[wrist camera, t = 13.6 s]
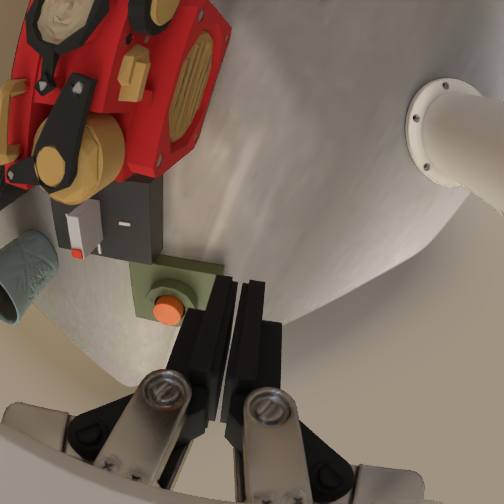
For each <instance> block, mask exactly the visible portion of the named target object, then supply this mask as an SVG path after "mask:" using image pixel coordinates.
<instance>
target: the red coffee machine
mask: <svg viewBox="0 0 504 504" xmlns="http://www.w3.org/2000/svg"><path fill="white" fill-rule="evenodd" d="M230 34H231V26H230V25H229V24H228V23H227V21H226V20H225V19H224V18H223V17H222V15H221V14H220V13H219V12H218V11H217V9H216V8H215V7H214V6H213V5H212V4H211V2H210V1H209V0H30V2H29V5H28V8H27V11H26V14H25V18H24V21H23V25H22V28H21V32H20V36H19V40H18V44H17V49H16V53H15V58H14V63H13V69H12V75H11V80H7V81H6V82H5V83H4V85H3V86H2V87H1V88H0V165H4V171H5V182H6V183H9V184H11V185H14V186H17V187H20V188H23V189H25V190H28V189H30V188H32V187H33V186H35V185H39V186H40V187H41V188H42V189H43V190H44V191H45V192H46V193H47V194H48V195H49V196H50V197H51V198H53V199H54V200H55V201H57V202H60V203H62V204H67V205H75V204H79V203H82V202H84V201H86V200H87V199H89V198H90V197H92V196H93V195H94V194H96V193H97V192H98V191H100V190H101V189H103V188H104V187H106V186H107V185H108V184H110V183H111V182H112V181H117V182H120V183H122V182H124V181H125V180H126V179H128V178H129V177H131V176H132V175H133V174H135V173H138V174H142V175H146V176H149V177H153V178H157V177H160V176H161V175H162V174H163V173H164V172H166V171H167V170H168V169H169V168H170V167H172V166H173V165H174V164H175V163H176V162H178V161H179V160H180V159H181V158H183V157H184V156H185V155H186V154H188V153H189V152H190V151H191V150H193V149H194V147H195V145H196V143H197V140H198V138H199V135H200V132H201V128H202V125H203V121H204V118H205V114H206V111H207V107H208V104H209V101H210V97H211V94H212V91H213V88H214V85H215V81H216V78H217V75H218V72H219V69H220V66H221V63H222V60H223V57H224V54H225V51H226V48H227V46H228V43H229V40H230Z"/></svg>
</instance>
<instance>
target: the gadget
mask: <svg viewBox="0 0 504 504" xmlns="http://www.w3.org/2000/svg"><path fill="white" fill-rule="evenodd" d="M50 198H51V197H50ZM89 199H94V200H99V201H100V212H101V223H102V232H103V240H102V241H101V242H100V243H99V244H98V246H97V247H96V248H95V249H94V250H93V251H92V252H91V253H90V254H95V255H100V256H105V257H110V258H115V259H120V260H125V261H130V262H136V263H141V264H146V265H152V264H153V263H154V261H155V260H156V258H157V257H158V255H159V253H160V252H161V250H162V249H163V231H162V201H163V174H162V175H161V176H160V177H157V178H153V177H149V176H146V175H142V174H138V173H135V174H133V175H132V176H131V177H129V178H128V179H126V180H125V181H124V182H122V183H120V182H117V181H112V182H111V183H110V184H108V185H107V186H106V187H104V188H103V189H101V190H100V191H98V192H97V193H96V194H94V195H93V196H92V197H90V198H89ZM84 202H85V201H84ZM82 203H83V202H82ZM82 203H79V204H75V205H67V204H62V203H60V202H57V201H55V200H54V199H53V198H51V205H52V212H53V218H54V224H55V230H56V235H57V240H58V245H59V247H61V248H65V249H70V250H71V249H72V247H71V241H70V236H69V230H68V223H67V217H66V216H67V215H68V214H69V213H70V212H72V211H73V210H74V209H75V208H77V207H78V206H79V205H81V204H82Z"/></svg>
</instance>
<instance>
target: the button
mask: <svg viewBox="0 0 504 504" xmlns="http://www.w3.org/2000/svg"><path fill="white" fill-rule="evenodd" d="M183 312H184V306H183V304H182V302H181V301H180V300H179V299H177V298H176V297H174V296H171V295H163V296H161V297H159V298H158V300H157V302H156V304H155V306H154V309H153V313H154V316H155V317H156V319H157V320H159V321H160V322H161V323H163V324H166V325H175V324H177V323H179V321H180V319H181V317H182V314H183Z"/></svg>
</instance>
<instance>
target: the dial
mask: <svg viewBox="0 0 504 504" xmlns="http://www.w3.org/2000/svg"><path fill="white" fill-rule="evenodd" d="M66 217H67V223H68V230H69V236H70V241H71V247H72V249H71V250H72V255H73V257H75V258H79V259H85V258H86V257H87V256H88V255H89V254H90V253H91V252H92V251H93V250H94V249H95V248H96V247H97V246H98V244H99V243H100V242H101V241H102V240H103V232H102V223H101V212H100V201H99V200H94V199H87V200H86V201H85V202H83V203H82V204H81V205H79V206H78V207H77V208H75V209H74V210H73V211H72V212H70V213H69V214H68V215H67V216H66Z"/></svg>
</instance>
